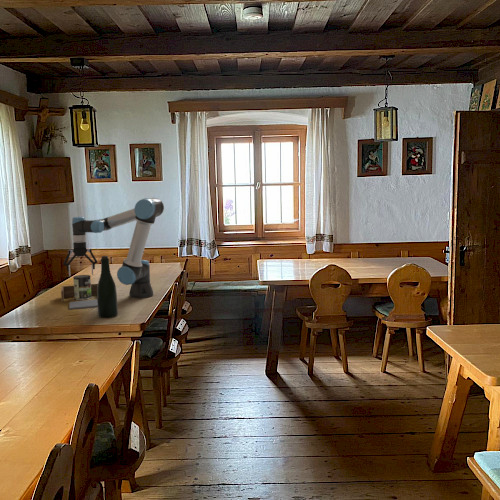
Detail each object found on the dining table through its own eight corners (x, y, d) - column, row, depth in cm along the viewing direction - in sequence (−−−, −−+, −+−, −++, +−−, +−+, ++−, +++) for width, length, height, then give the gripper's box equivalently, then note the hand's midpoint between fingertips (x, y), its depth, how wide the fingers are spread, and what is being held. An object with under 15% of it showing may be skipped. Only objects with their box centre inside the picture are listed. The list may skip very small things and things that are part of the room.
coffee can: (94, 296, 325) (93, 274, 323) (86, 300, 315) (85, 277, 313) (80, 296, 327) (78, 274, 325) (71, 299, 317) (69, 277, 315)
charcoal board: (98, 306, 297) (98, 305, 297) (69, 309, 292) (69, 307, 292) (97, 301, 312) (97, 299, 312) (69, 303, 307) (69, 301, 307)
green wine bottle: (101, 313, 282) (98, 254, 278) (120, 313, 282) (117, 254, 278) (95, 318, 272) (91, 257, 268) (114, 318, 272) (111, 257, 267)
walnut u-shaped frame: (104, 298, 318) (103, 287, 317) (61, 302, 310) (61, 291, 309) (103, 293, 332) (102, 283, 331) (62, 297, 324) (61, 286, 323)
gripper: (100, 240, 323) (101, 272, 326) (58, 241, 315) (60, 275, 318) (100, 241, 316) (102, 275, 319) (58, 243, 308) (59, 277, 311)
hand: (81, 275), depth 319 cm, fingers open, 13 cm apart
